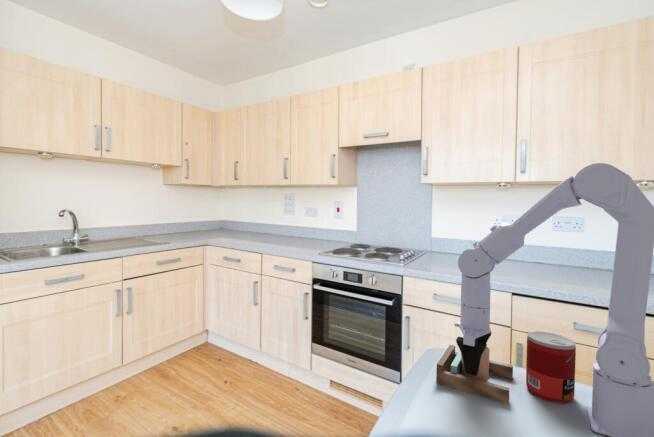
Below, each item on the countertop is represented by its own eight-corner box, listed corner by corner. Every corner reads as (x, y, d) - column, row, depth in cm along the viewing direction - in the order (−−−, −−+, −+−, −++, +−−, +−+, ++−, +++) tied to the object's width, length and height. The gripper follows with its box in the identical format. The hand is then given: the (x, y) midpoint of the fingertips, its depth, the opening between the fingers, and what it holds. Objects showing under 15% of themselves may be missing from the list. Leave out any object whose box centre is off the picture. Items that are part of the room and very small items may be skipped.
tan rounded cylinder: (464, 366, 73) (465, 340, 73) (491, 374, 70) (492, 346, 70) (457, 376, 69) (458, 347, 69) (485, 384, 65) (486, 355, 65)
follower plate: (464, 367, 75) (465, 351, 75) (456, 384, 67) (456, 366, 67) (459, 365, 75) (459, 350, 75) (450, 382, 68) (450, 365, 68)
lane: (512, 377, 71) (513, 358, 71) (508, 404, 60) (509, 382, 60) (449, 361, 78) (450, 344, 78) (436, 383, 68) (436, 363, 68)
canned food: (574, 409, 59) (576, 349, 59) (523, 394, 64) (525, 338, 64) (574, 391, 65) (575, 337, 65) (527, 379, 70) (529, 328, 70)
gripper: (461, 295, 78) (460, 352, 78) (447, 309, 65) (446, 376, 66) (494, 300, 74) (493, 359, 74) (486, 316, 62) (484, 387, 62)
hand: (473, 368), depth 69 cm, fingers closed on tan rounded cylinder, 5 cm apart
